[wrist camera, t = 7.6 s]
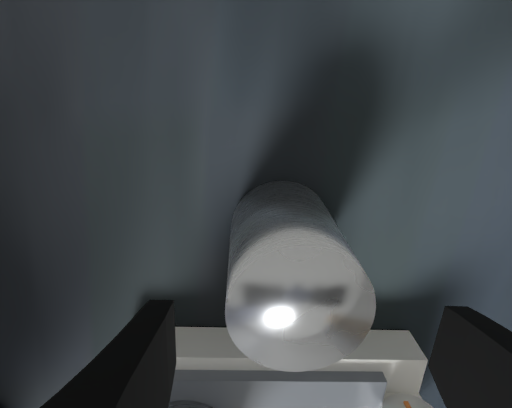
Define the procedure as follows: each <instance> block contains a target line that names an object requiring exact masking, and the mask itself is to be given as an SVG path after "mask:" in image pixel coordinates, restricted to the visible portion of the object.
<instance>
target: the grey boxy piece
mask: <svg viewBox="0 0 512 408" xmlns="http://www.w3.org/2000/svg"><path fill="white" fill-rule="evenodd" d="M175 338H176V368H175V374H174V380H173V386H172V391H171V397H170V402H173V401H185V400H187V401H196V402H201V403H205V404H207V405H210V406H212V407H214V408H433V407H432V406H431V405H430V404H428V403H427V402H425V401H424V400H422V398H421V396H420V394H419V391H420V387H421V383H422V380H423V376H424V373H425V369H426V365H427V362H428V360H427V358H426V356H425V355H424V353H423V352H422V350H421V349H420V347H419V345H418V344H417V342H416V341H415V339H414V338H413V336H412V334H411V333H410V331H409V330H370V331H369V332H368V334H367V336H366V337H365V339H364V340H363V341H362V342H361V344H360V345H359V346H358V347H357V348H356V349H355V350H354V351H352V352H351V353H350V354H349V355H347V356H346V357H344V358H343V359H341V360H339V361H338V362H336V363H333V364H331V365H329V366H326V367H323V368H320V369H316V370H311V371H304V372H285V371H279V370H274V369H271V368H267V367H265V366H262V365H260V364H258V363H256V362H254V361H253V360H251V359H250V358H248V357H247V356H245V355H244V354H243V353H242V352H241V351H240V350H239V349H238V347H237V346H236V345H235V344H234V342H233V340H232V339H231V337H230V335H229V332H228V330H227V328H223V327H175Z"/></svg>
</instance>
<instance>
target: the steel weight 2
mask: <svg viewBox="0 0 512 408" xmlns="http://www.w3.org/2000/svg"><path fill="white" fill-rule="evenodd" d="M375 311H376V297H375V292H374V289H373V286H372V284H371V282H370V280H369V278H368V276H367V275H366V273H365V271H364V270H363V268H362V266H361V265H360V263H359V261H358V260H357V258H356V256H355V255H354V253H353V251H352V250H351V248H350V246H349V245H348V243H347V241H346V240H345V238H344V236H343V235H342V233H341V231H340V230H339V228H338V226H337V225H336V223H335V221H334V220H333V218H332V216H331V215H330V213H329V211H328V210H327V208H326V206H325V205H324V203H323V201H322V200H321V199H320V198H319V196H318V195H317V194H316V193H315V192H314V191H312V190H311V189H309V188H308V187H306V186H304V185H302V184H299V183H296V182H291V181H273V182H268V183H265V184H262V185H260V186H258V187H256V188H254V189H252V190H251V191H250V192H248V193H247V194H246V195H245V196H244V197H243V198H242V199H241V201H240V202H239V203H238V205H237V207H236V208H235V211H234V213H233V216H232V221H231V233H230V247H229V261H228V276H227V290H226V304H225V321H226V326H227V330H228V332H229V335H230V337H231V339H232V340H233V342H234V344H235V345H236V346H237V347H238V349H239V350H240V351H241V352H242V353H243V354H244V355H245V356H247V357H248V358H250V359H251V360H253V361H254V362H256V363H258V364H260V365H262V366H265V367H267V368H271V369H274V370H279V371H285V372H304V371H311V370H316V369H320V368H323V367H326V366H329V365H331V364H333V363H336V362H338V361H339V360H341V359H343V358H344V357H346V356H347V355H349V354H350V353H351V352H352V351H354V350H355V349H356V348H357V347H358V346H359V345H360V344H361V342H362V341H363V340H364V339H365V337H366V336H367V334H368V332H369V331H370V328H371V326H372V324H373V321H374V317H375Z"/></svg>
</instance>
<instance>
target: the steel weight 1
mask: <svg viewBox="0 0 512 408" xmlns="http://www.w3.org/2000/svg"><path fill="white" fill-rule="evenodd" d="M168 408H214V407H212V406H210V405H207V404H205V403H201V402H196V401H187V400H185V401H173V402H169V406H168Z"/></svg>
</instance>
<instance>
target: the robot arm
mask: <svg viewBox="0 0 512 408" xmlns="http://www.w3.org/2000/svg"><path fill="white" fill-rule="evenodd" d="M428 366H429V369H430V371H431V374H432V376H433V378H434V381H435V383H436V386H437V388H438V390H439V393H440V395H441V397H442V399H443V401H444V404H445V406H446V407H447V408H512V332H511V331H510V330H508V329H506V328H505V327H503V326H501V325H500V324H498V323H496V322H494V321H493V320H491V319H489V318H488V317H486V316H484V315H482V314H480V313H479V312H477V311H475V310H473V309H471V308H469V307H462V306H445V308H444V312H443V315H442V319H441V322H440V326H439V329H438V333H437V336H436V340H435V343H434V347H433V350H432V354H431V357H430V361H429V364H428ZM175 368H176V338H175V312H174V300H150V301H148V302H147V303H146V304H145V305H144V306H143V307H142V309H141V310H140V311H139V312H138V313H137V314H136V315H135V316H134V317H133V318H132V320H131V321H130V322H129V323H128V324H127V325H126V326H125V327H124V328H123V329H122V330H121V331H120V333H119V334H118V335H117V336H116V337H115V338H114V339H113V340H112V341H111V342H110V343H109V344H108V345H107V346H106V347H105V348H104V349H103V350H102V351H101V352H100V353H99V354H98V355H97V356H96V357H95V358H94V359H93V360H92V361H91V362H90V363H89V364H88V365H87V366H86V367H85V368H84V369H82V370H81V371H80V372H79V373H78V374H77V375H76V376H75V377H74V378H73V379H72V380H71V381H69V382H68V383H67V384H66V385H65V386H64V387H63V388H62V389H61V390H60V391H59V392H57V393H56V394H55V395H54V396H53V397H52V398H51V399H49V400H48V401H47V402H46V403H45V404H44V405H42V406H41V407H40V408H168V406H169V402H170V397H171V391H172V386H173V380H174V374H175Z"/></svg>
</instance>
